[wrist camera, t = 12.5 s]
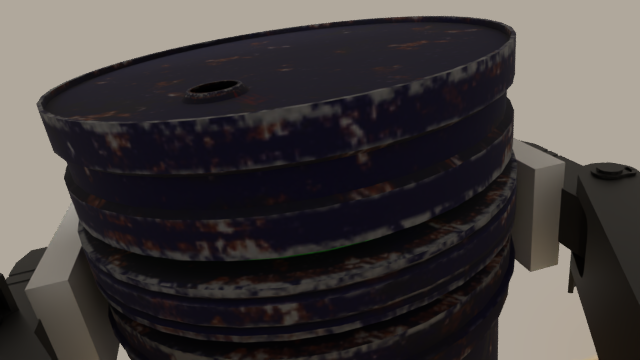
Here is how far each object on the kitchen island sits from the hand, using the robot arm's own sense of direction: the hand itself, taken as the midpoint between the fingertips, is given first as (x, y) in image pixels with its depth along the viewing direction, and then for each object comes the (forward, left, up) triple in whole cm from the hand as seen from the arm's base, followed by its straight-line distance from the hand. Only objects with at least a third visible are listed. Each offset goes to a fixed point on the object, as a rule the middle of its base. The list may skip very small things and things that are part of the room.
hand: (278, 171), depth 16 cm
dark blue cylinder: (0, -4, -11) cm, 12 cm away
